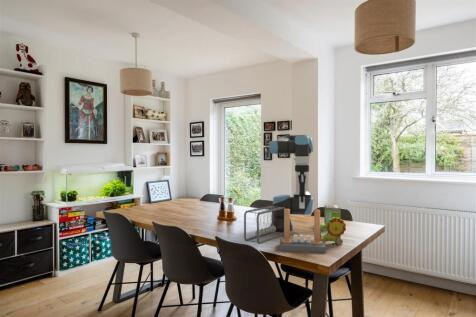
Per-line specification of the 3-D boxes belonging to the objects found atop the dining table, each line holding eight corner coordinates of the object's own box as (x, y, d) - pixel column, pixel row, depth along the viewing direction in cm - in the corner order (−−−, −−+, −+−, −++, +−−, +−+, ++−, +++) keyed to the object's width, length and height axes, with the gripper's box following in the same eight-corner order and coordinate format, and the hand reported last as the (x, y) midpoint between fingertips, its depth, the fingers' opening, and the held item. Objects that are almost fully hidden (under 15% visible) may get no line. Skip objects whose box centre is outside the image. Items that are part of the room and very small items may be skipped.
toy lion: (319, 245, 180) (319, 218, 180) (316, 242, 186) (316, 216, 186) (347, 245, 181) (347, 218, 181) (343, 242, 186) (343, 216, 186)
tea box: (340, 229, 218) (340, 207, 218) (325, 228, 220) (325, 207, 220) (338, 224, 233) (338, 204, 233) (324, 224, 235) (324, 204, 235)
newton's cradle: (272, 232, 212) (272, 205, 212) (286, 234, 205) (286, 206, 205) (243, 241, 189) (243, 211, 189) (258, 244, 182) (258, 213, 182)
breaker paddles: (293, 241, 176) (293, 234, 176) (310, 242, 174) (310, 235, 174) (293, 242, 174) (293, 235, 174) (310, 243, 173) (310, 236, 172)
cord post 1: (282, 240, 178) (282, 208, 178) (291, 241, 177) (291, 208, 177) (282, 243, 173) (282, 209, 173) (291, 243, 173) (291, 210, 172)
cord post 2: (312, 242, 176) (312, 209, 176) (321, 242, 175) (321, 209, 175) (312, 244, 171) (312, 210, 171) (322, 245, 170) (322, 211, 170)
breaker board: (279, 244, 182) (279, 239, 182) (323, 246, 178) (323, 240, 178) (279, 250, 170) (279, 245, 170) (326, 252, 166) (326, 247, 166)
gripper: (294, 164, 181) (294, 206, 181) (295, 164, 168) (295, 210, 168) (308, 164, 179) (308, 206, 180) (309, 164, 167) (309, 210, 167)
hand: (301, 208), depth 174 cm, fingers closed
